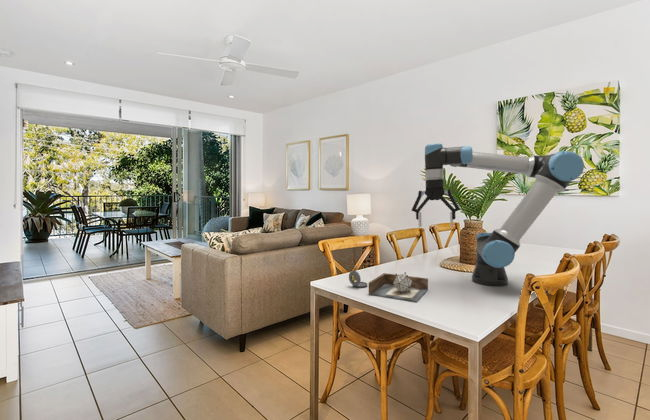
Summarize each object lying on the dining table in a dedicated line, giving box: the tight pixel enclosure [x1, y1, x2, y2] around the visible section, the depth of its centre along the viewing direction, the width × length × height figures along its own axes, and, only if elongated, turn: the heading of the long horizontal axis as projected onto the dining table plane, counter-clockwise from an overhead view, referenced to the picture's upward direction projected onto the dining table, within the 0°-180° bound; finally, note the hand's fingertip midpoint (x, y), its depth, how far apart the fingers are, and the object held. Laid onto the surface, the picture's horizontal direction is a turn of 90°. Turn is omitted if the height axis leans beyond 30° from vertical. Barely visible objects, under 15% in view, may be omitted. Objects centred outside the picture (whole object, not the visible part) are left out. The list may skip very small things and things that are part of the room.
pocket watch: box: [348, 265, 368, 288], centre depth 152 cm, size 8×8×10 cm
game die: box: [391, 272, 414, 294], centre depth 140 cm, size 9×8×10 cm
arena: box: [368, 272, 429, 303], centre depth 142 cm, size 20×18×5 cm
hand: (435, 226), depth 150 cm, fingers open, 13 cm apart
